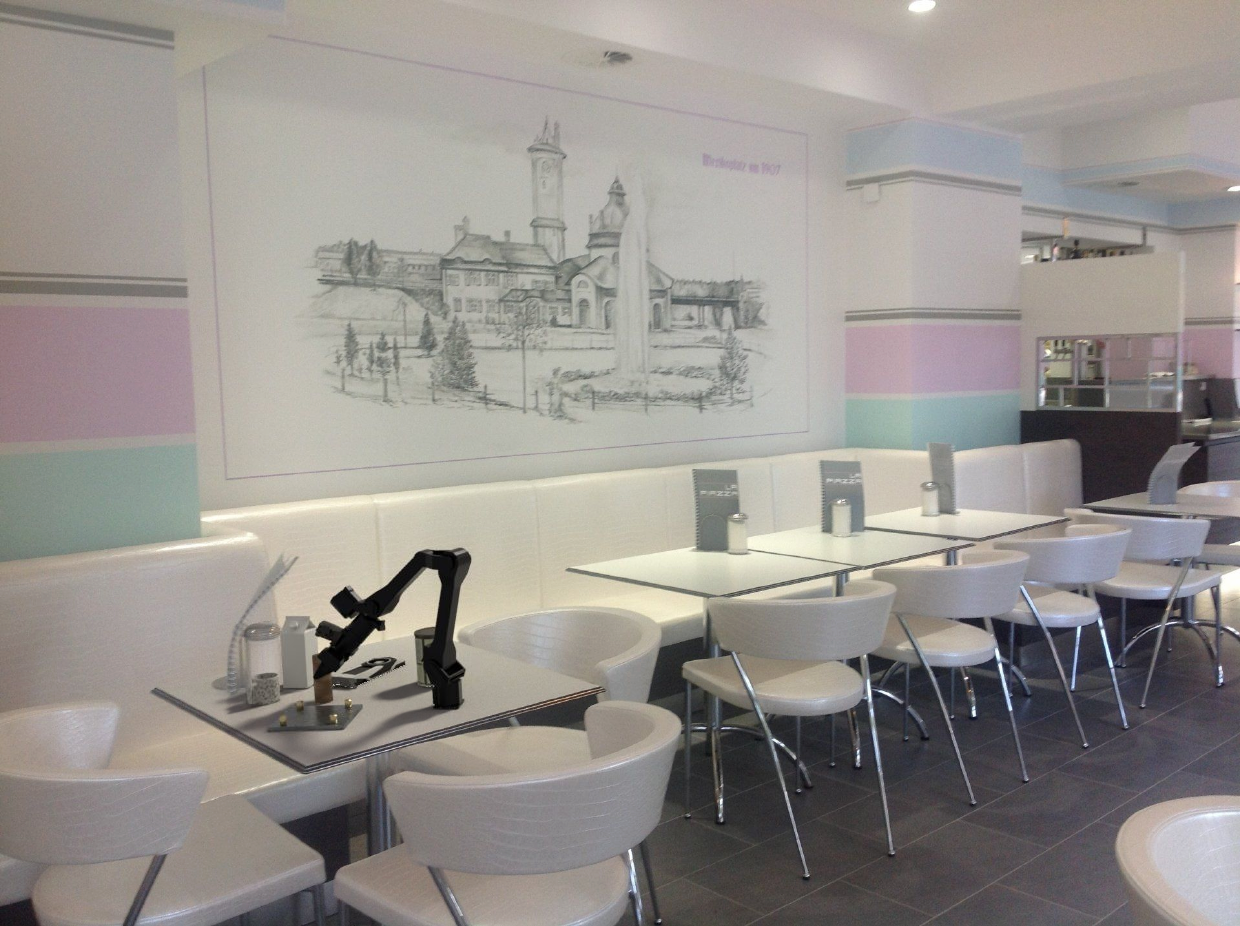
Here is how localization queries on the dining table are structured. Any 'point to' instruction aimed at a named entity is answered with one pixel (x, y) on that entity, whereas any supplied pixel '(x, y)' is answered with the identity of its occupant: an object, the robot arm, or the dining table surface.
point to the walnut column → (322, 684)
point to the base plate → (316, 717)
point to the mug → (264, 689)
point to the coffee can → (422, 639)
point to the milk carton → (298, 651)
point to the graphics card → (367, 671)
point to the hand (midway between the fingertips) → (317, 675)
